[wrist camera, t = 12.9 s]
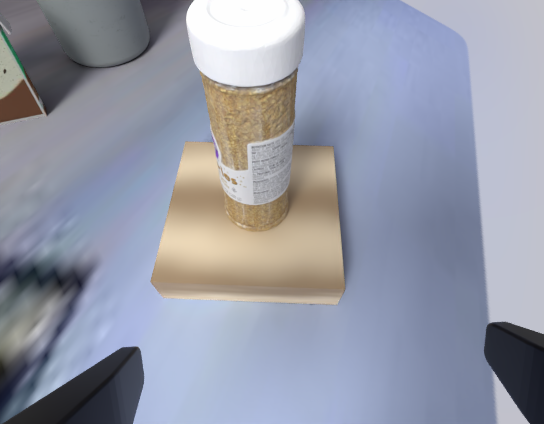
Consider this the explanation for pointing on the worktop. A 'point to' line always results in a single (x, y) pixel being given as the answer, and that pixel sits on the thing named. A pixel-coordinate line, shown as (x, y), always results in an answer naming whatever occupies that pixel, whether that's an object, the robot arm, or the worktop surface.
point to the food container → (15, 85)
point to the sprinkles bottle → (250, 99)
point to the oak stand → (252, 237)
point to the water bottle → (98, 29)
